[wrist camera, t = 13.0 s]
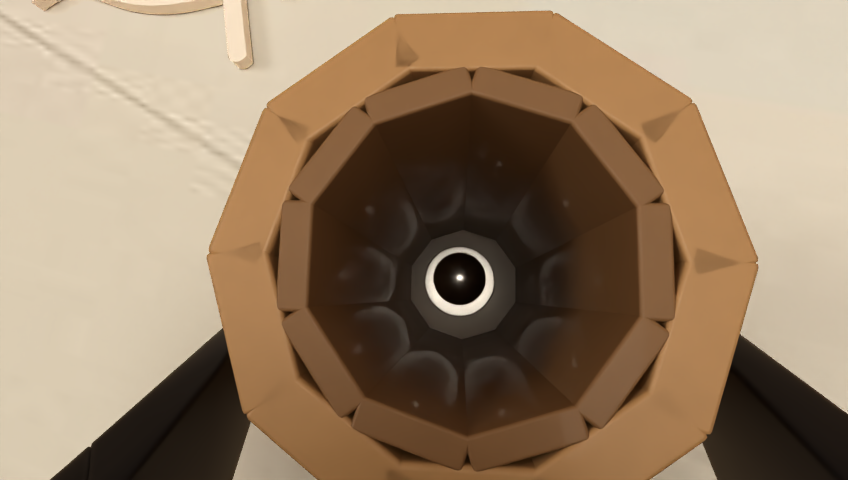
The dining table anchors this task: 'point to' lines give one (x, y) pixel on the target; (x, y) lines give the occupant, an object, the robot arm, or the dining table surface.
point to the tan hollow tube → (513, 231)
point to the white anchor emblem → (175, 3)
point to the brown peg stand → (463, 284)
